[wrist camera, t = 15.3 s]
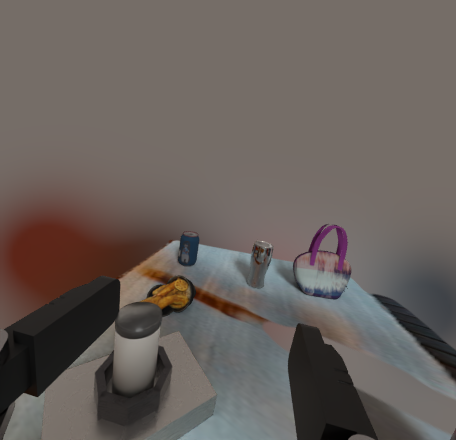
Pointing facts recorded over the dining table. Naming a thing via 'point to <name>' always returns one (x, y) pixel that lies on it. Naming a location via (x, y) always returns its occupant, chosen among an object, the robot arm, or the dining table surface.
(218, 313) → the dining table surface
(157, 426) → the slab with octagonal socket
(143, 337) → the canister
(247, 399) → the dining table surface
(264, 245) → the beer glass
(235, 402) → the dining table surface
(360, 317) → the dining table surface
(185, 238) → the soda can
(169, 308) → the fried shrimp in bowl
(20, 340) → the robot arm
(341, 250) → the handbag
